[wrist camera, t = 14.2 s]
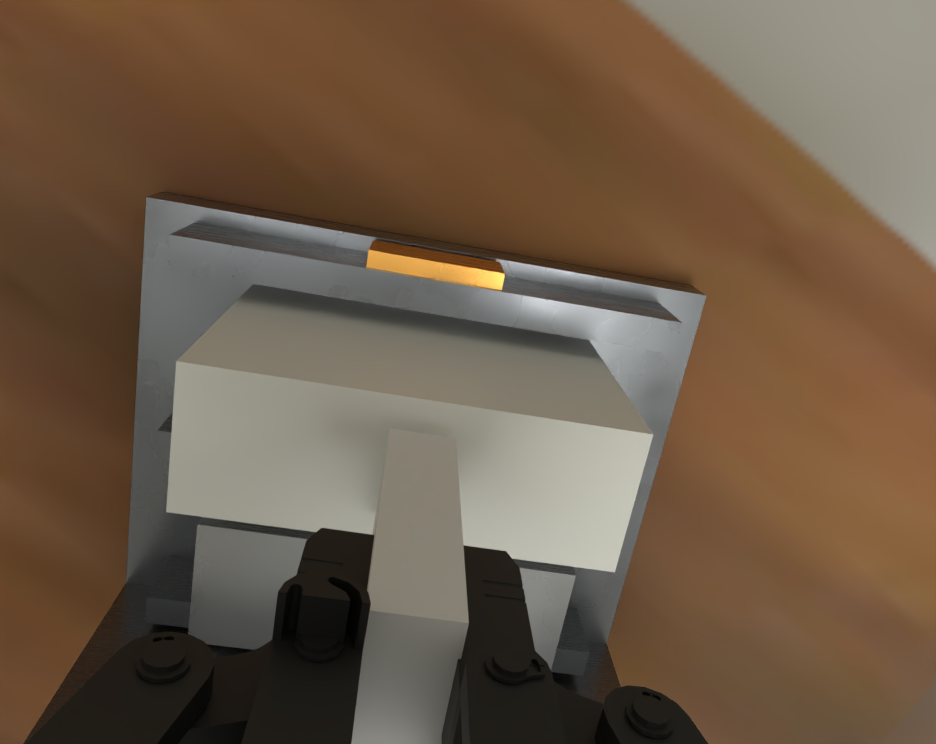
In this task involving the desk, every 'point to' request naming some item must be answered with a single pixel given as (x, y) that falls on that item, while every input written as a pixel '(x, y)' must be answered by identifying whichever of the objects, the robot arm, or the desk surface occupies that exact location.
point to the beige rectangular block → (404, 424)
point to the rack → (388, 284)
